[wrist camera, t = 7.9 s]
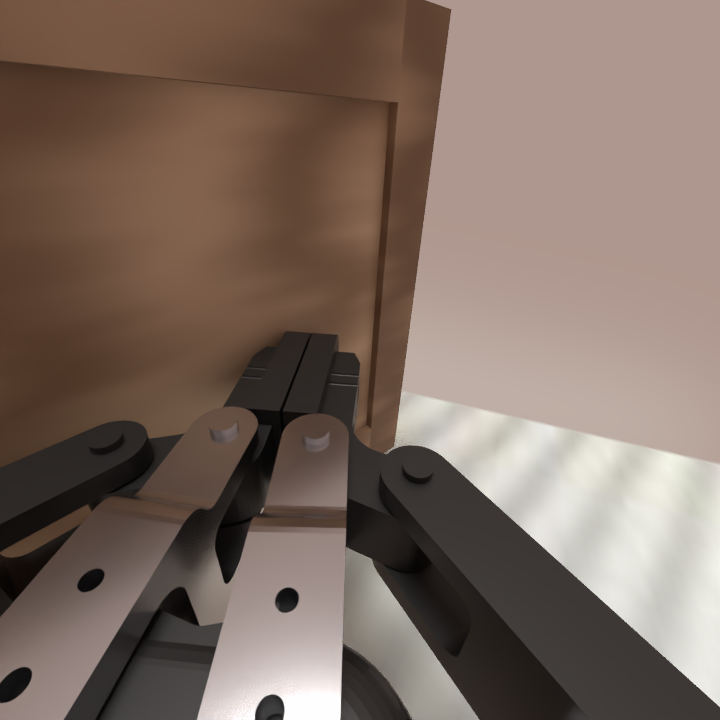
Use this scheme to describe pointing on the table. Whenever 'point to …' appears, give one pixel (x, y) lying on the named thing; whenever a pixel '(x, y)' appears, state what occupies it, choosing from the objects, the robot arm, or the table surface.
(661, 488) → the table surface
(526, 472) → the table surface
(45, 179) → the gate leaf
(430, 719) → the table surface
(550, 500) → the table surface
